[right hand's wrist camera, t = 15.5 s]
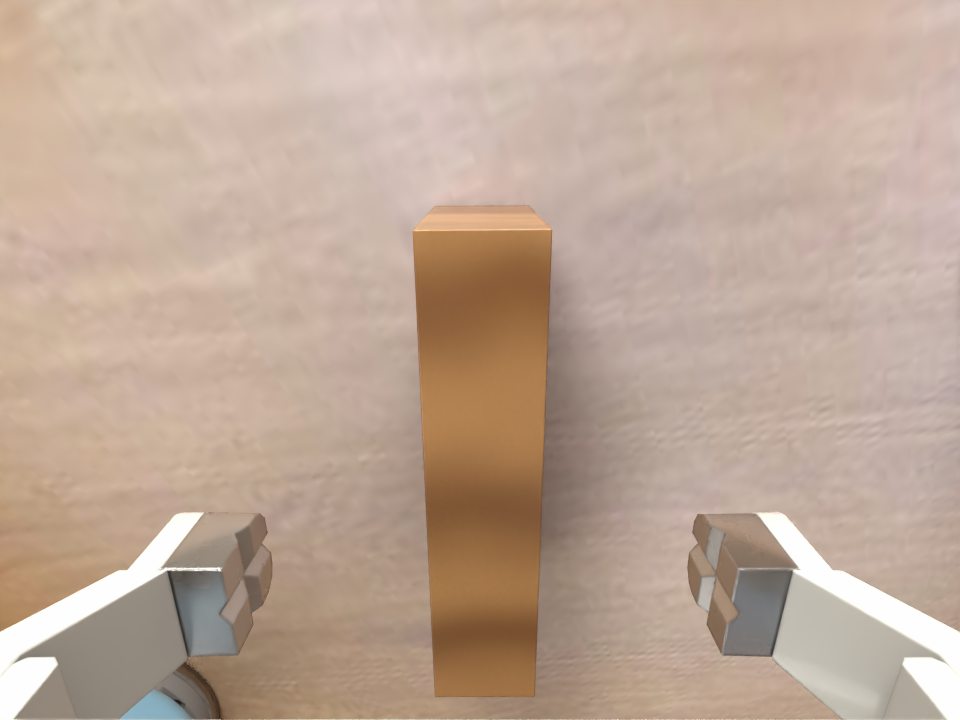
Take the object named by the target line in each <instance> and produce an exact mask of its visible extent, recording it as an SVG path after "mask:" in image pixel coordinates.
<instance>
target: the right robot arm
mask: <svg viewBox="0 0 960 720" xmlns="http://www.w3.org/2000/svg"><path fill="white" fill-rule="evenodd" d="M267 533H268V532H267V527H266V522H265V518H264V517H263V516H262V515H261V514H259V513H213V512H209V513H205V512H182V513H179V514H176V515H175V516H174V517H173V518H172V519H171V520H170V521H169V523H168V524H167V525H166V526H165V527H164V528H163V529H162V531H161V532H160V533H159V534H158V535H157V536H156V538H155V539H154V540H153V541H152V542H151V543H150V545H149V546H148V547H147V548H146V549H145V550H144V552H143V553H142V554H141V555H140V556H139V557H138V559H137V560H136V561H135V562H134V563H133V564H132V565H131V567H130V568H129V569H128V570H118V571H117V572H115V573H113V574H111V575H109V576H107V577H105V578H103V579H101V580H99V581H97V582H95V583H93V584H92V585H90V586H88V587H86V588H84V589H82V590H80V591H78V592H76V593H74V594H72V595H70V596H69V597H67V598H65V599H63V600H61V601H59V602H57V603H55V604H53V605H51V606H49V607H47V608H45V609H44V610H42V611H40V612H38V613H36V614H34V615H32V616H30V617H28V618H26V619H24V620H22V621H20V622H19V623H17V624H15V625H13V626H11V627H9V628H7V629H5V630H3V631H1V632H0V720H174V719H119V718H121V717H122V716H123V715H124V714H125V713H126V712H128V711H129V710H130V709H131V708H132V707H133V706H135V705H136V704H137V703H138V702H139V701H140V700H142V699H143V698H144V697H145V696H146V695H147V694H149V693H150V692H151V691H152V690H153V689H154V688H156V687H157V686H158V685H159V684H160V683H161V682H162V681H164V680H165V679H166V678H167V677H168V676H169V675H171V674H172V673H173V672H174V671H175V670H176V669H178V668H179V667H180V666H181V665H182V664H183V663H185V662H186V661H187V660H188V657H195V656H229V655H238V654H239V652H240V650H241V648H242V646H243V644H244V642H245V640H246V638H247V636H248V634H249V632H250V630H251V628H252V626H253V619H252V612H254V611H255V610H256V609H258V608H259V607H260V606H262V605H263V603H264V601H265V599H266V597H267V594H268V592H269V588H270V583H271V579H272V558H271V552H270V551H269V550H268V549H267V548H266V547H265V546H264V545H263V544H262V542H263V540H264V538H265V536H266V535H267ZM692 533H693V535H694V536H695V538H696V540H697V542H698V544H697V545H696V546H695V547H694V548H693V549H692V550H691V551H690V552H689V559H688V578H689V585H690V588H691V592H692V595H693V597H694V599H695V601H696V603H697V605H698V606H700V607H701V608H702V609H704V610H705V611H706V612H708V619H707V626H708V628H709V630H710V632H711V634H712V636H713V638H714V640H715V642H716V644H717V646H718V648H719V650H720V652H721V654H722V655H730V656H765V657H772V660H773V661H775V662H776V663H777V664H778V665H779V666H780V667H782V668H783V669H784V670H785V671H786V672H787V673H788V674H790V675H791V676H792V677H793V678H794V679H795V680H797V681H798V682H799V683H800V684H801V685H802V686H804V687H805V688H806V689H807V690H808V691H809V692H810V693H812V694H813V695H814V696H815V697H816V698H817V699H819V700H820V701H821V702H822V703H823V704H824V705H826V706H827V707H828V708H829V709H830V710H831V711H833V712H834V713H835V714H836V715H837V716H838V717H839V718H841V719H842V720H960V632H958V631H957V630H955V629H953V628H951V627H949V626H947V625H945V624H943V623H941V622H939V621H937V620H935V619H934V618H932V617H930V616H928V615H926V614H924V613H922V612H920V611H918V610H916V609H914V608H912V607H911V606H909V605H907V604H905V603H903V602H901V601H899V600H897V599H895V598H893V597H891V596H889V595H888V594H886V593H884V592H882V591H880V590H878V589H876V588H874V587H872V586H870V585H868V584H866V583H865V582H863V581H861V580H859V579H857V578H855V577H853V576H851V575H849V574H847V573H845V572H843V571H842V570H832V569H831V568H830V567H829V566H828V564H827V563H826V562H825V561H824V560H823V559H822V557H821V556H820V555H819V554H818V553H817V552H816V550H815V549H814V548H813V547H812V546H811V545H810V543H809V542H808V541H807V540H806V539H805V538H804V537H803V535H802V534H801V533H800V532H799V531H798V530H797V528H796V527H795V526H794V525H793V524H792V523H791V521H790V520H789V519H788V518H787V517H786V516H785V515H784V514H782V513H780V512H762V513H751V514H698V515H697V517H696V519H695V521H694V526H693V532H692ZM274 720H564V719H274Z"/></svg>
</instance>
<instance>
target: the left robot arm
mask: <svg viewBox="0 0 960 720" xmlns="http://www.w3.org/2000/svg"><path fill="white" fill-rule="evenodd" d="M119 719H174V720H219V708H218V704H217V701H216V698H215V696H214V694H213V692H212V690H211V688H210V687H209V686H208V684H207V683H206V682H205V680H204V679H203V678H202V677H201V676H200V675H199V674H198V673H197V672H196V671H195V670H193V669H192V668H191V667H190V666H188V665H187V664H185V663H183V664H182V665H181V666H180V667H179V668H178V669H176V670H175V671H174V672H173V673H172V674H171V675H169V676H168V677H167V678H166V679H165V680H164V681H162V682H161V683H160V684H159V685H158V686H157V687H156V688H154V689H153V690H152V691H151V692H150V693H149V694H147V695H146V696H145V697H144V698H143V699H142V700H140V701H139V702H138V703H137V704H136V705H135V706H133V707H132V708H131V709H130V710H129V711H128V712H126V713H125V714H124V715H123V716H122V717H121V718H119Z"/></svg>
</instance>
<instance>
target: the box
mask: <svg viewBox="0 0 960 720" xmlns="http://www.w3.org/2000/svg"><path fill="white" fill-rule="evenodd" d="M551 246H552V229H551V228H550V227H549V226H548V225H547V224H546V223H545V222H544V221H543V220H542V219H541V218H540V216H539V215H538V214H537V213H536V212H535V211H534V210H533V209H532V208H531V207H530V206H435V207H434V208H433V209H432V210H431V211H430V212H429V213H428V214H427V215H426V216H425V218H424V219H423V220H422V221H421V222H420V223H419V224H418V225H417V226H416V227H415V229H414V230H413V247H414V268H415V289H416V310H417V331H418V352H419V373H420V394H421V415H422V436H423V456H424V477H425V498H426V519H427V540H428V561H429V582H430V603H431V624H432V645H433V666H434V687H435V697H534V696H535V675H536V648H537V621H538V594H539V568H540V541H541V514H542V487H543V460H544V434H545V407H546V380H547V353H548V327H549V300H550V273H551Z"/></svg>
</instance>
